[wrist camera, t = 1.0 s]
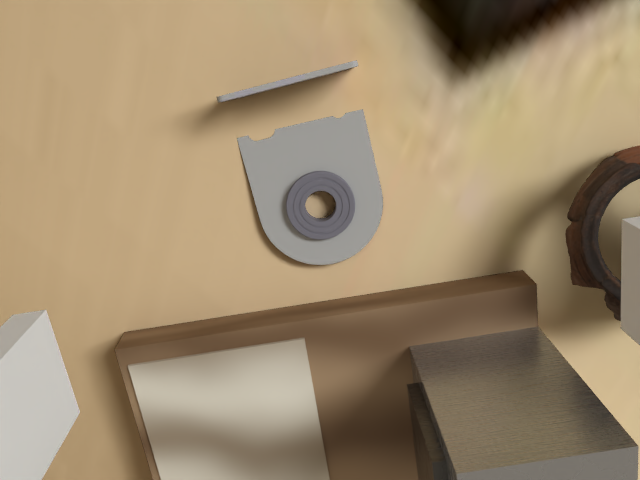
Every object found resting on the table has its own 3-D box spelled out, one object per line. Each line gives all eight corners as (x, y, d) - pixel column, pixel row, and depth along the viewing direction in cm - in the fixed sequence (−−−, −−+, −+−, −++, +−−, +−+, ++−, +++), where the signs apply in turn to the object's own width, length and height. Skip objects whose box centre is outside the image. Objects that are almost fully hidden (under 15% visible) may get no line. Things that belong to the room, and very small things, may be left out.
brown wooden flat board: (124, 332, 34) (113, 351, 32) (522, 270, 34) (537, 285, 32) (180, 527, 38) (174, 555, 36) (532, 473, 38) (545, 498, 36)
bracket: (277, 271, 33) (275, 296, 30) (223, 90, 30) (215, 97, 27) (392, 242, 33) (403, 264, 30) (350, 57, 30) (357, 59, 27)
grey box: (398, 348, 33) (440, 476, 23) (538, 326, 32) (638, 446, 23) (414, 482, 35) (458, 645, 26) (543, 462, 35) (634, 618, 26)
